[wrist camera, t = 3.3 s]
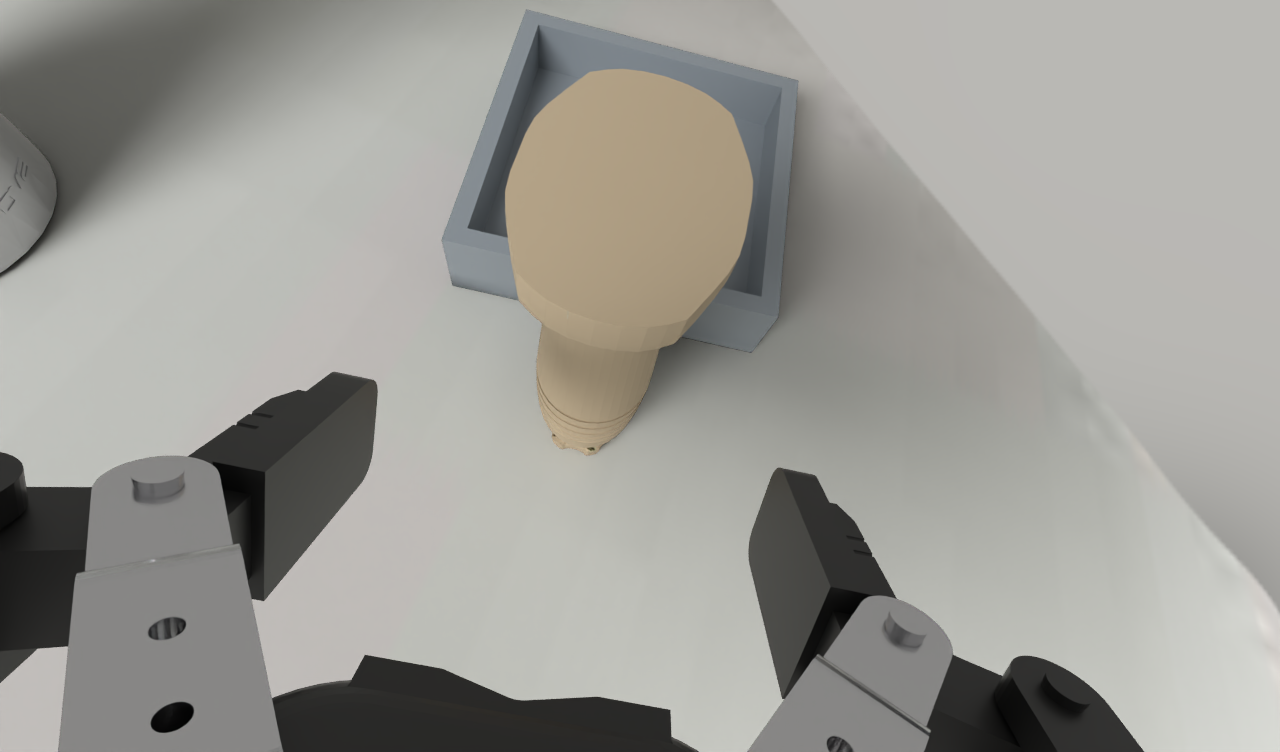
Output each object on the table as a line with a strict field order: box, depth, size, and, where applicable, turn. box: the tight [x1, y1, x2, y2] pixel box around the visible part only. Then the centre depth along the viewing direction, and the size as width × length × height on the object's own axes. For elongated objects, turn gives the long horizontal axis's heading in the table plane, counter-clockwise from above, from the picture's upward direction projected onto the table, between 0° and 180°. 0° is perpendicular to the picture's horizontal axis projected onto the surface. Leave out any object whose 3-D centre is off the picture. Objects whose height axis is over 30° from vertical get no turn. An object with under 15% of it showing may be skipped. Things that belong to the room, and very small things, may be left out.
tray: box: [442, 9, 798, 352], centre depth 29 cm, size 14×14×4 cm
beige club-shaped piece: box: [505, 69, 753, 456], centre depth 19 cm, size 5×6×15 cm
